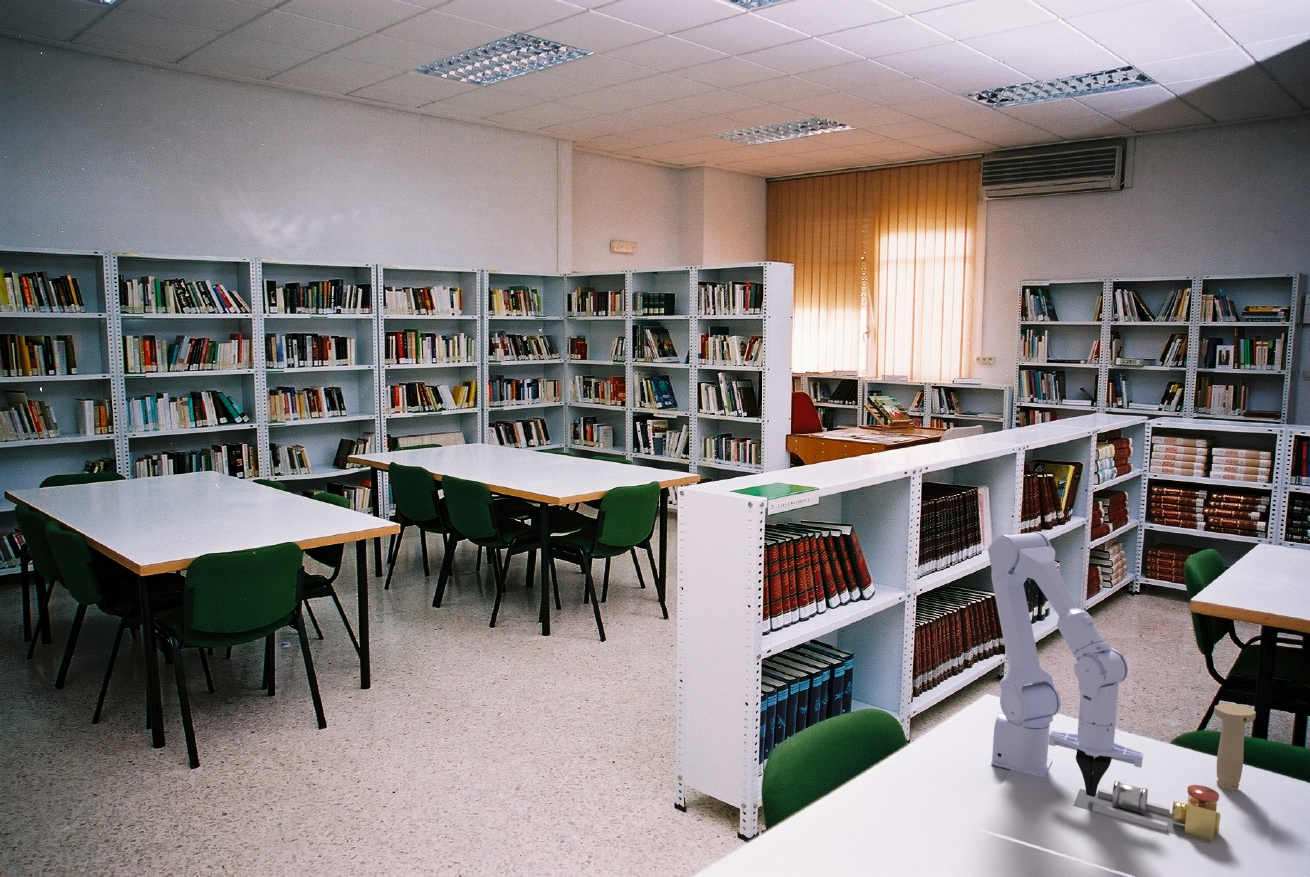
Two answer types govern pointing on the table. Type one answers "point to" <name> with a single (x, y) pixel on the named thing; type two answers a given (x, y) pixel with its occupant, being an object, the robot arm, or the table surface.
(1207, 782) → the table surface
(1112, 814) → the grey railed tray
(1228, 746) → the handle
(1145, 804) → the coupling
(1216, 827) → the valve
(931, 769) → the table surface
